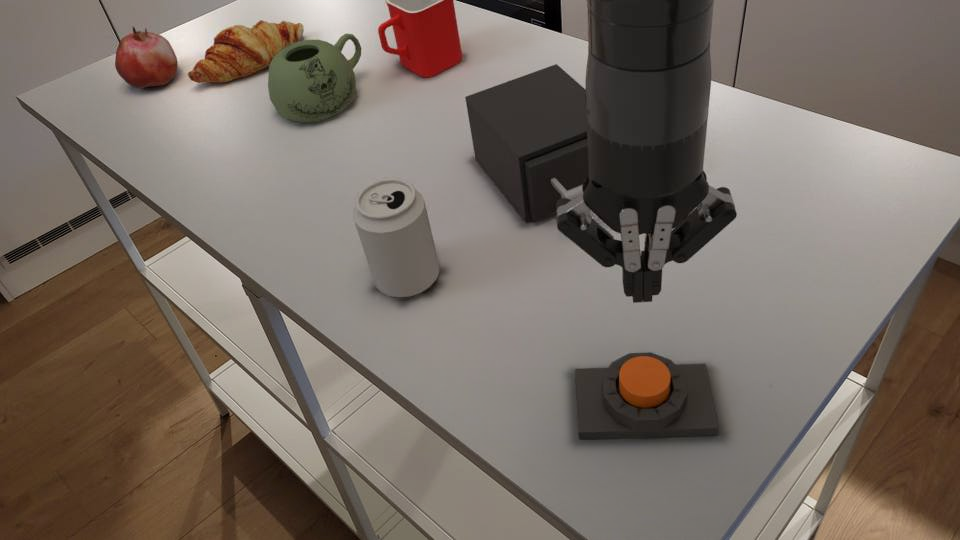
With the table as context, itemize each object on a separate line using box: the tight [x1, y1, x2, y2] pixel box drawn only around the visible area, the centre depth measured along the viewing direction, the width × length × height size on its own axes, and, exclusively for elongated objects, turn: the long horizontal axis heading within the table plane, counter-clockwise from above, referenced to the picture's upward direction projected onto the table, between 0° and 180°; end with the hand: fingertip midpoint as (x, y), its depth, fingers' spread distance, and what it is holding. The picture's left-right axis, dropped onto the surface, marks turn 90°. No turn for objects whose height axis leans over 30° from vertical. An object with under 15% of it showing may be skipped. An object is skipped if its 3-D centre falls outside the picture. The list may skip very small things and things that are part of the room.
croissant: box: [187, 19, 305, 84], centre depth 123 cm, size 21×10×8 cm, turn 134°
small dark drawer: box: [524, 137, 589, 222], centre depth 89 cm, size 18×11×8 cm, turn 24°
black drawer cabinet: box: [464, 63, 588, 224], centre depth 91 cm, size 15×13×10 cm
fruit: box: [114, 26, 179, 89], centre depth 121 cm, size 9×10×10 cm
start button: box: [619, 356, 671, 408], centre depth 67 cm, size 4×4×2 cm
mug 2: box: [377, 0, 463, 78], centre depth 114 cm, size 12×8×11 cm
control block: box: [574, 351, 720, 440], centre depth 68 cm, size 12×7×3 cm, turn 87°
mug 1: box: [267, 33, 362, 123], centre depth 111 cm, size 16×13×9 cm
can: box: [352, 177, 440, 298], centre depth 80 cm, size 8×8×12 cm
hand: (641, 294), depth 60 cm, fingers closed
